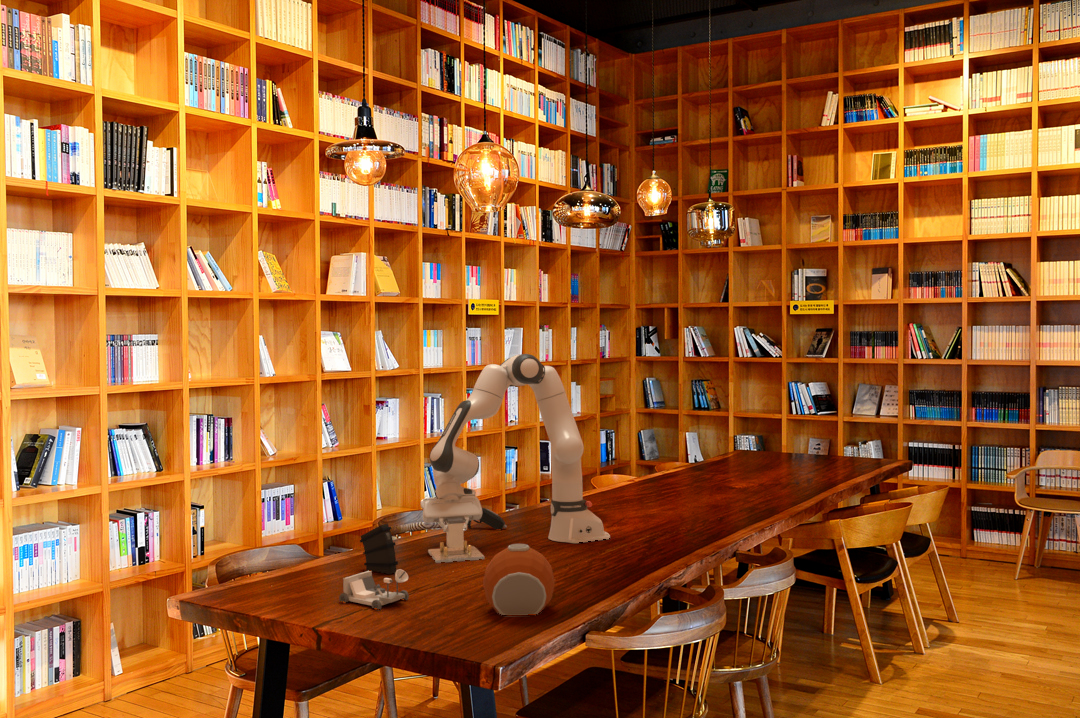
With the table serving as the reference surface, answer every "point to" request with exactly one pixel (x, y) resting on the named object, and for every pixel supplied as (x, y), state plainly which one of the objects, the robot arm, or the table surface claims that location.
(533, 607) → the alarm clock
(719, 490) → the table surface
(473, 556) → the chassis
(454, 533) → the block
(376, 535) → the black ribbed panel
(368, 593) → the toy lunar rover
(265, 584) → the table surface
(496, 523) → the gun
